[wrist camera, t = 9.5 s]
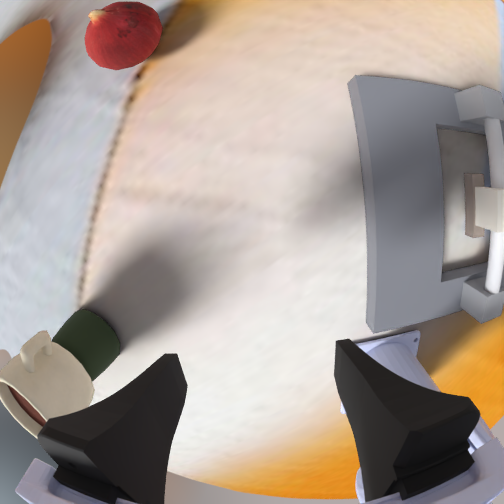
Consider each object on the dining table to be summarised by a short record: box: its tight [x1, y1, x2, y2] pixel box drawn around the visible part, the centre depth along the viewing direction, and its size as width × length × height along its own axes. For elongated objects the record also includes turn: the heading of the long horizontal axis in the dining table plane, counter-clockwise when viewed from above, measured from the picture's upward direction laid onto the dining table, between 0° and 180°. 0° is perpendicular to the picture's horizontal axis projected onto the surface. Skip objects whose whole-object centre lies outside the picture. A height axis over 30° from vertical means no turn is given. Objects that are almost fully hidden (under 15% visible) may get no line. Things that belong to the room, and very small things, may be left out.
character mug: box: [0, 309, 120, 438], centre depth 18 cm, size 11×7×13 cm, turn 163°
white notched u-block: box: [464, 173, 504, 238], centre depth 14 cm, size 5×5×4 cm
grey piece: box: [348, 75, 504, 334], centre depth 16 cm, size 20×22×6 cm
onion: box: [85, 2, 163, 70], centre depth 13 cm, size 6×6×8 cm
